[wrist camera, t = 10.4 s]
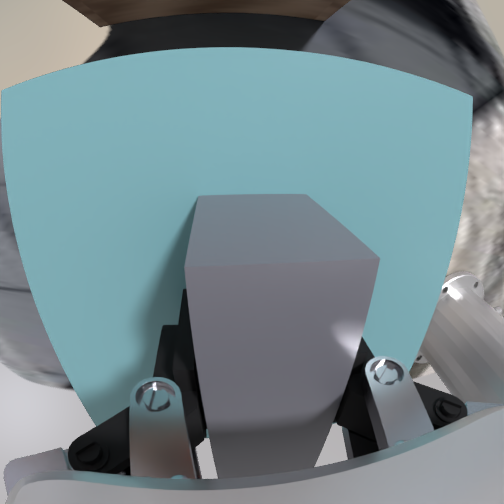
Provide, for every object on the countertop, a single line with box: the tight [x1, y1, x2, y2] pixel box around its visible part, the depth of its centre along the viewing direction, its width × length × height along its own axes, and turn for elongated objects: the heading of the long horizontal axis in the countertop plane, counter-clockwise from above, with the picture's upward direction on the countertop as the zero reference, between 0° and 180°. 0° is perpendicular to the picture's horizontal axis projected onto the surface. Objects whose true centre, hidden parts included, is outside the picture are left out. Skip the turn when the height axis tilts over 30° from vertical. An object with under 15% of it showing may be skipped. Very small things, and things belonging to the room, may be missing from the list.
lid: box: [1, 47, 473, 479], centre depth 10 cm, size 19×19×7 cm
